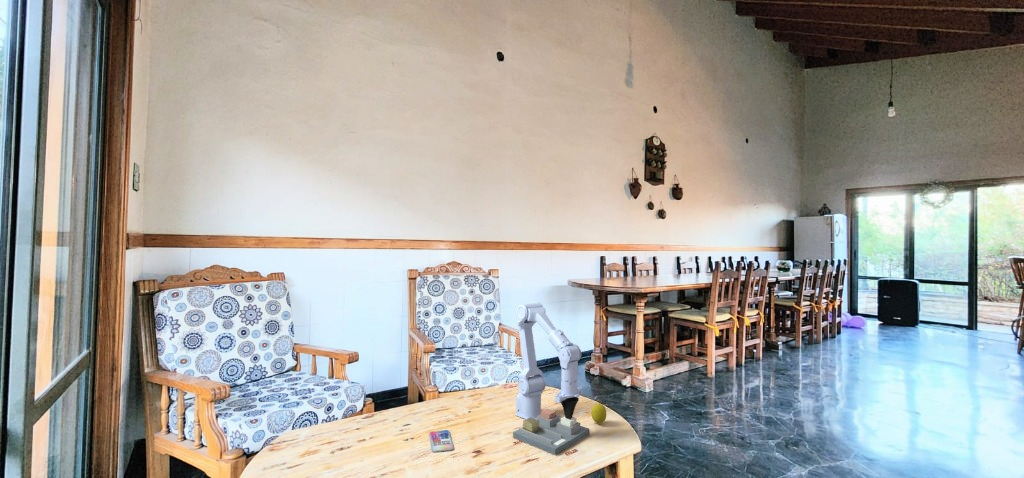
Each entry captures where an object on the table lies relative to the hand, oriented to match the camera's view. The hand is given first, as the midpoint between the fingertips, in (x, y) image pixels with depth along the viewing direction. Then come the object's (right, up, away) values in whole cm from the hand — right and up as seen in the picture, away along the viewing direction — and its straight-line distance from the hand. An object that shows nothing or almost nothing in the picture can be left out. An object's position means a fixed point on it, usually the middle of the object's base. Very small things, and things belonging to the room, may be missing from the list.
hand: (568, 417), depth 155 cm
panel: (-6, -6, -1) cm, 9 cm away
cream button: (0, -2, 0) cm, 2 cm away
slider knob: (-13, -4, -2) cm, 14 cm away
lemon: (+13, -7, +10) cm, 17 cm away
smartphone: (-44, -6, -6) cm, 45 cm away
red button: (-7, -2, +6) cm, 9 cm away
